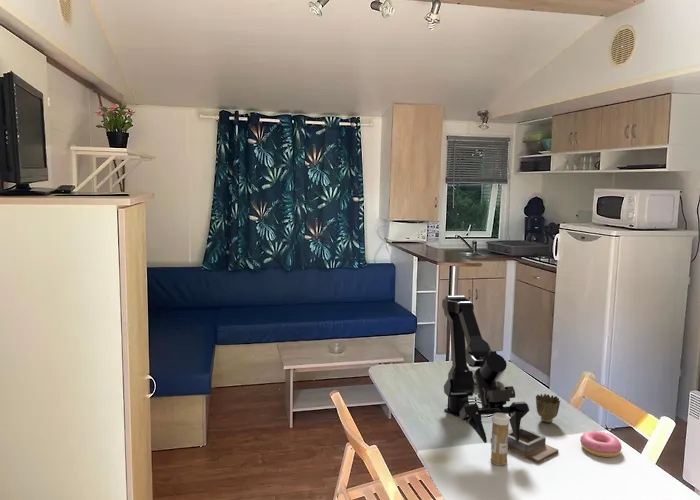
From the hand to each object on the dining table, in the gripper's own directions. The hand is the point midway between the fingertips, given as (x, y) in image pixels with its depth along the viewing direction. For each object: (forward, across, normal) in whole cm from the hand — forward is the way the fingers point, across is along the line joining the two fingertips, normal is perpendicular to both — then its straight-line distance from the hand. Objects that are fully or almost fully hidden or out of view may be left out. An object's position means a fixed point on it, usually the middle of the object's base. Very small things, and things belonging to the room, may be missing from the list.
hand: (501, 441), depth 146 cm
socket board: (-1, +11, +11) cm, 15 cm away
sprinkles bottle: (+4, 0, +6) cm, 7 cm away
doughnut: (+2, +32, +8) cm, 34 cm away
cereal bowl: (-38, +19, +48) cm, 65 cm away
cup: (-12, +26, +22) cm, 36 cm away
